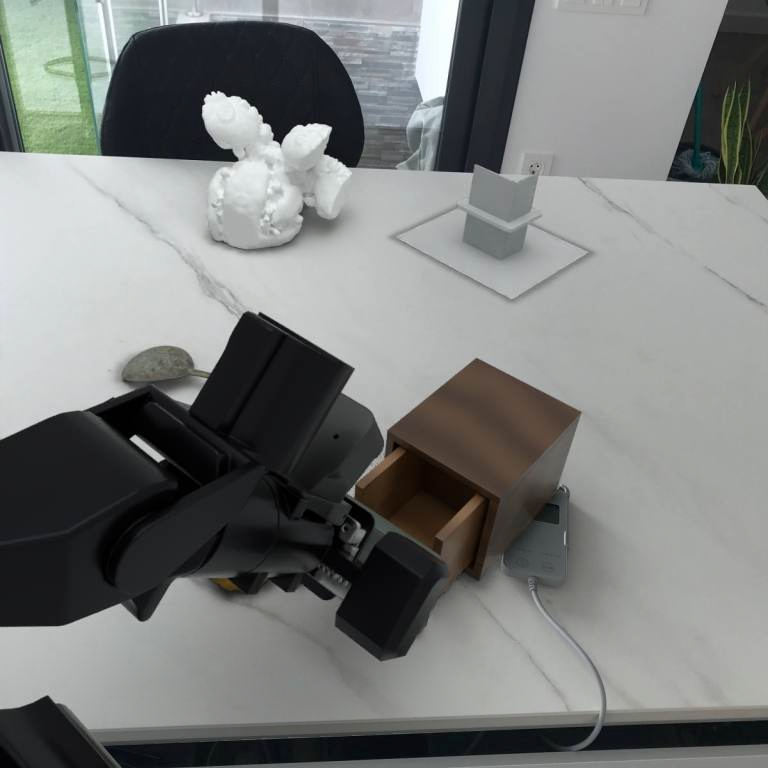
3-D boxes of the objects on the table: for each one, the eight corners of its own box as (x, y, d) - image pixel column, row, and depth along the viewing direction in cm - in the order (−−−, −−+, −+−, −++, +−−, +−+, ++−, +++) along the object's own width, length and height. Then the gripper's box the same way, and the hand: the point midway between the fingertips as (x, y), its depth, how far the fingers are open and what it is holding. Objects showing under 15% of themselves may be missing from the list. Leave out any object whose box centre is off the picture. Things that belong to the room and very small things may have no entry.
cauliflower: (156, 189, 97) (219, 65, 102) (201, 264, 115) (252, 156, 121) (295, 229, 94) (352, 99, 99) (318, 300, 112) (365, 187, 118)
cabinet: (479, 582, 66) (500, 498, 59) (377, 514, 71) (387, 429, 64) (555, 493, 75) (582, 411, 68) (460, 438, 79) (476, 357, 73)
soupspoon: (146, 352, 87) (112, 388, 83) (140, 328, 85) (105, 364, 80) (327, 398, 82) (302, 440, 78) (326, 374, 80) (300, 416, 75)
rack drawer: (387, 670, 58) (397, 601, 52) (290, 596, 62) (291, 525, 57) (502, 540, 68) (521, 471, 63) (412, 484, 73) (423, 415, 67)
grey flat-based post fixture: (476, 199, 122) (488, 127, 114) (588, 252, 112) (610, 177, 104) (395, 237, 111) (402, 160, 103) (511, 299, 100) (529, 219, 93)
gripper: (455, 475, 36) (526, 503, 50) (188, 314, 44) (313, 376, 58) (337, 683, 36) (441, 652, 50) (91, 482, 44) (240, 504, 58)
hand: (355, 534), depth 54 cm, fingers closed
